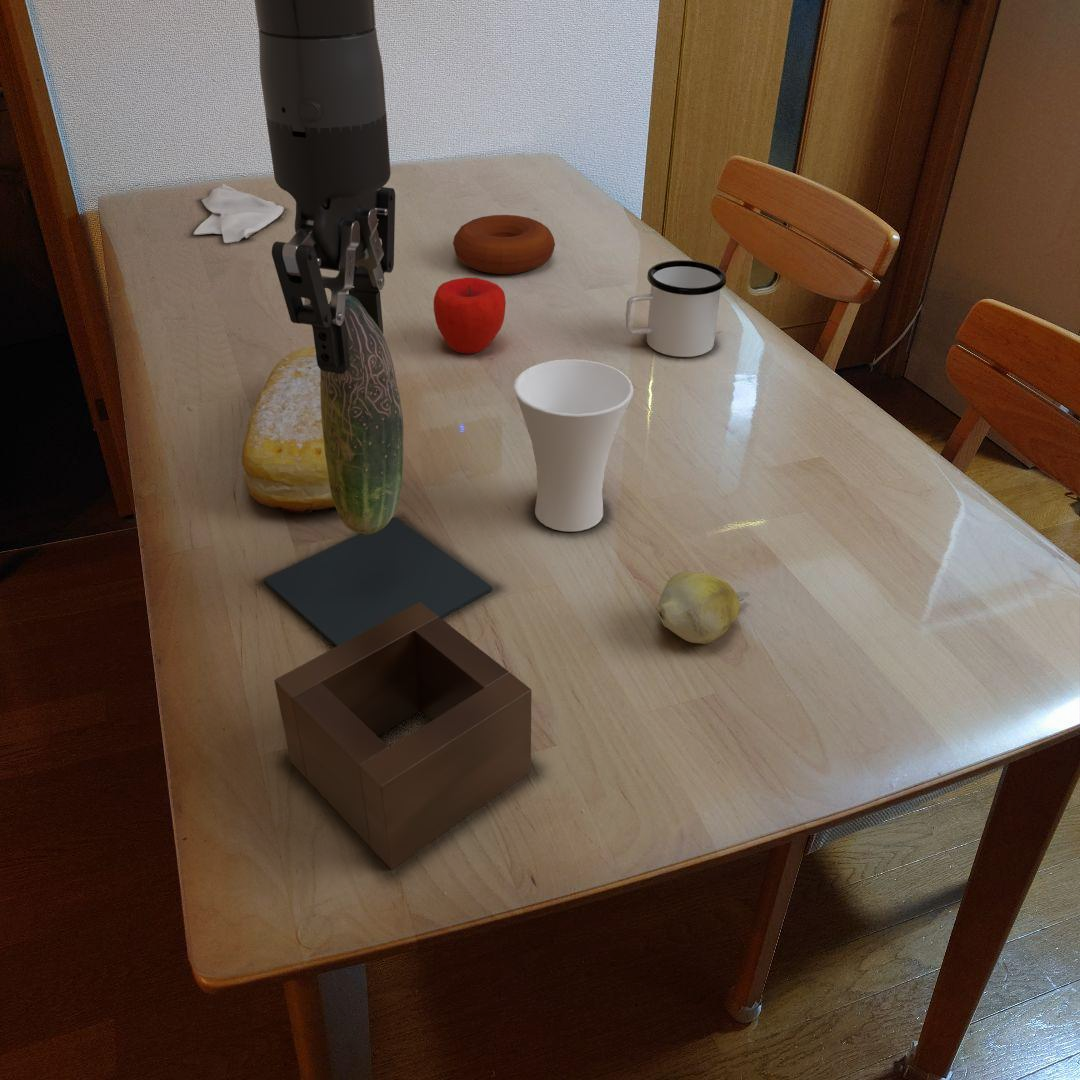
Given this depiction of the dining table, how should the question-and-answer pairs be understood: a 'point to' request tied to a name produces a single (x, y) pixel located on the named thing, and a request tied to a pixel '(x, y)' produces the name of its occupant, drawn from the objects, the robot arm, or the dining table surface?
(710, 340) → the mug
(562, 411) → the cup
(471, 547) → the dining table surface
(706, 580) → the fruit
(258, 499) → the bread
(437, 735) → the holder
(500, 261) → the donut
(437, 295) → the apple
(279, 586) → the mat
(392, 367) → the vegetable
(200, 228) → the cloth
